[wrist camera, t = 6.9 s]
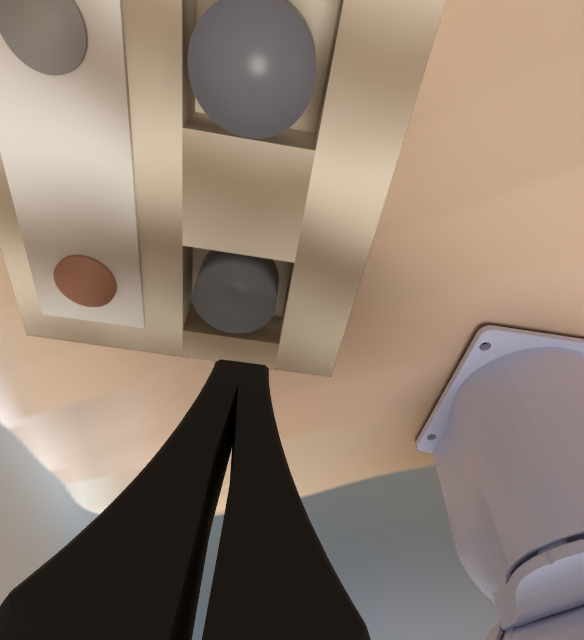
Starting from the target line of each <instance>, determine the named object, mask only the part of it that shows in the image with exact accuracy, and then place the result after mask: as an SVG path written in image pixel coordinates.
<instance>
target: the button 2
mask: <svg viewBox="0 0 584 640" xmlns="http://www.w3.org/2000/svg"><path fill="white" fill-rule="evenodd" d="M278 283H279V274H278V270H277V267H276V265H275V263H274V261H273V260H272V259H267V258H260V257H254V256H247V255H241V254H234V253H228V252H221V251H215V250H212V251H210V252H209V253H208V254H207V256H206V257H205V259H204V261H203V263H202V266H201V268H200V271H199V274H198V276H197V279H196V282H195V285H194V288H193V291H192V301H193V305H194V307H195V309H196V311H197V313H198V314H199V316H200V317H201V318H202V319H203V320H204V321H205V322H206V323H208V324H209V325H211V326H212V327H214V328H216V329H219V330H221V331H224V332H229V333H249V332H253V331H256V330H258V329H260V328H262V327H263V326H265V325H266V324H267V323H268V322H269V321H270V320H271V318H272V317H273V315H274V313H275V309H276V302H277V293H278Z"/></svg>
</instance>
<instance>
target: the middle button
mask: <svg viewBox="0 0 584 640" xmlns="http://www.w3.org/2000/svg"><path fill="white" fill-rule="evenodd" d="M187 63H188V74H189V80H190V83H191V87H192V90H193V92H194V95H195V97H196V99H197V101H198V103H199V105H200V106H201V108H202V109H203V110H204V112H205V113H206V114H207V115H208V117H209V118H210V119H211V120H212V121H213V122H215V123H216V124H217V125H218V126H220V127H221V128H222V129H224V130H226V131H228V132H229V133H231V134H234V135H237V136H240V137H244V138H250V139H262V138H268V137H272V136H275V135H277V134H280V133H282V132H284V131H285V130H287V129H288V128H290V127H291V126H292V125H293V124H294V123H295V122H296V121H297V120H298V119H299V118H300V117H301V116H302V114H303V113H304V111H305V110H306V108H307V106H308V104H309V102H310V100H311V97H312V94H313V91H314V87H315V80H316V52H315V44H314V40H313V36H312V33H311V31H310V28H309V26H308V24H307V22H306V20H305V19H304V17H303V16H302V14H301V13H300V12H299V10H298V9H297V8H296V7H295V6H294V5H293V4H292V3H291V2H289V1H288V0H219V1H217V2H216V3H214V4H213V5H212V6H211V7H210V8H208V9H207V11H206V12H205V13H204V14H203V15H202V16H201V18H200V19H199V21H198V23H197V24H196V26H195V28H194V31H193V33H192V36H191V39H190V43H189V48H188V58H187Z"/></svg>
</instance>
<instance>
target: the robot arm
mask: <svg viewBox="0 0 584 640" xmlns="http://www.w3.org/2000/svg"><path fill="white" fill-rule="evenodd" d="M484 342H487V343H486V344H484V345H481V344H482V343H484ZM416 448H417V450H419V451H421V452H426V453H433V457H434V461H435V465H436V469H437V473H438V477H439V481H440V486H441V490H442V494H443V498H444V502H445V506H446V510H447V515H448V519H449V523H450V526H451V530H452V535H453V539H454V543H455V547H456V550H457V553H458V556H459V558H460V560H461V562H462V564H463V566H464V568H465V570H466V571H467V573H468V574H469V576H470V577H471V579H472V580H473V581H474V583H475V584H476V585H477V586H478V588H479V589H480V590H481V591H482V592H483V593H484V594H485V595H486V596H487V597H488V598H489V599H491V600H492V601H493V602H494V603H495V606H496V609H497V613H498V616H499V620H500V622H499V623H498V624H496V625H495V626H494V627H493V628H492V629H491V631H490V633H489V635H488V637H487V639H486V640H584V339H581V338H574V337H567V336H561V335H554V334H547V333H540V332H534V331H527V330H520V329H513V328H507V327H500V326H493V325H488V326H484V327H482V328H481V329H479V330H478V332H477V333H476V335H475V337H474V339H473V340H472V342H471V344H470V346H469V347H468V349H467V351H466V353H465V355H464V356H463V358H462V360H461V362H460V364H459V365H458V367H457V369H456V371H455V373H454V374H453V376H452V378H451V380H450V381H449V383H448V385H447V387H446V389H445V390H444V392H443V394H442V396H441V398H440V399H439V401H438V403H437V405H436V407H435V408H434V410H433V412H432V414H431V415H430V417H429V419H428V421H427V423H426V424H425V426H424V428H423V430H422V432H421V433H420V435H419V437H418V439H417V441H416ZM231 449H232V458H231V473H230V486H229V492H228V497H227V503H226V509H225V515H224V520H223V526H222V532H221V537H220V543H219V549H218V555H217V560H216V565H215V571H214V577H213V583H212V587H211V593H210V598H209V604H208V609H207V615H206V620H205V626H204V631H203V637H202V640H370V637H369V633H368V630H367V627H366V624H365V623H364V621H363V619H362V617H361V616H360V614H359V612H358V611H357V609H356V607H355V606H354V604H353V603H352V601H351V599H350V597H349V596H348V594H347V592H346V590H345V589H344V587H343V585H342V583H341V582H340V580H339V578H338V576H337V574H336V572H335V570H334V569H333V567H332V565H331V563H330V561H329V559H328V557H327V555H326V553H325V551H324V549H323V547H322V545H321V543H320V541H319V539H318V537H317V535H316V533H315V530H314V528H313V526H312V524H311V522H310V520H309V518H308V515H307V513H306V511H305V508H304V506H303V504H302V502H301V499H300V496H299V494H298V491H297V489H296V486H295V484H294V481H293V478H292V475H291V473H290V470H289V467H288V464H287V461H286V457H285V454H284V451H283V448H282V444H281V441H280V437H279V433H278V429H277V425H276V421H275V417H274V413H273V408H272V402H271V396H270V389H269V368H268V367H267V366H266V365H262V364H254V363H246V362H238V361H231V360H223V359H220V360H218V361H216V363H215V365H214V368H213V370H212V372H211V374H210V376H209V378H208V380H207V382H206V383H205V385H204V387H203V389H202V390H201V392H200V394H199V395H198V397H197V399H196V400H195V402H194V403H193V405H192V406H191V408H190V409H189V411H188V412H187V414H186V415H185V417H184V418H183V420H182V421H181V422H180V424H179V425H178V426H177V428H176V429H175V430H174V432H173V433H172V434H171V436H170V437H169V438H168V440H167V441H166V442H165V444H164V445H163V446H162V447H161V449H160V450H159V451H158V452H157V454H156V455H155V456H154V457H153V458H152V460H151V461H150V462H149V463H148V464H147V466H146V467H145V468H144V469H143V470H142V471H141V472H140V473H139V475H138V476H137V477H136V478H135V479H134V480H133V481H132V482H131V483H130V484H129V485H128V486H127V487H126V489H125V490H124V491H123V492H122V493H121V494H120V495H119V496H118V497H117V498H116V499H115V500H114V501H113V502H112V503H111V504H110V505H109V506H108V507H107V508H106V509H105V510H104V511H103V512H102V513H101V514H100V515H99V516H98V517H97V518H96V519H95V520H93V521H92V522H91V523H90V524H89V525H88V526H87V527H86V528H85V529H84V530H83V531H81V533H79V534H78V535H77V536H76V537H75V538H74V539H73V540H72V541H71V542H69V543H68V544H67V545H66V546H65V547H64V548H63V549H62V550H60V551H59V552H58V553H57V554H56V555H55V556H53V557H52V558H51V559H50V560H49V561H47V562H46V563H45V564H44V565H42V566H41V567H40V568H39V569H37V570H36V571H35V572H34V573H33V574H31V575H30V576H29V577H28V578H27V579H25V580H24V581H23V582H22V583H20V584H19V585H18V586H17V587H16V588H14V589H13V590H12V591H11V592H10V593H9V595H8V596H7V597H6V599H5V600H4V601H3V603H2V604H1V606H0V640H192V634H193V629H194V623H195V617H196V611H197V605H198V599H199V593H200V587H201V581H202V575H203V569H204V563H205V557H206V552H207V546H208V540H209V536H210V531H211V526H212V522H213V518H214V514H215V510H216V507H217V503H218V499H219V495H220V491H221V487H222V484H223V480H224V476H225V472H226V468H227V464H228V461H229V457H230V453H231Z"/></svg>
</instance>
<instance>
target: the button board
mask: <svg viewBox="0 0 584 640" xmlns="http://www.w3.org/2000/svg"><path fill="white" fill-rule="evenodd" d="M217 1H219V0H0V246H1V250H2V253H3V256H4V260H5V263H6V266H7V270H8V273H9V276H10V280H11V283H12V286H13V290H14V293H15V297H16V300H17V303H18V307H19V310H20V313H21V317H22V320H23V323H24V327H25V330H26V333H27V336H35V337H42V338H49V339H57V340H64V341H71V342H79V343H86V344H93V345H101V346H108V347H115V348H123V349H130V350H137V351H145V352H152V353H159V354H167V355H174V356H181V357H188V358H196V359H203V360H210V361H218V360H220V359H223V360H231V361H238V362H246V363H254V364H262V365H266V366H267V367H268V368H269V369H276V370H284V371H291V372H298V373H306V374H313V375H320V376H328V377H331V375H332V372H333V368H334V365H335V362H336V359H337V355H338V352H339V349H340V346H341V342H342V339H343V336H344V332H345V329H346V326H347V323H348V319H349V316H350V313H351V310H352V306H353V303H354V300H355V297H356V293H357V290H358V287H359V284H360V280H361V277H362V274H363V271H364V267H365V264H366V261H367V258H368V254H369V251H370V248H371V245H372V241H373V238H374V235H375V232H376V228H377V225H378V222H379V218H380V215H381V212H382V209H383V205H384V202H385V199H386V196H387V192H388V189H389V186H390V183H391V179H392V176H393V173H394V170H395V166H396V163H397V160H398V157H399V153H400V150H401V147H402V144H403V140H404V137H405V134H406V131H407V127H408V124H409V121H410V118H411V114H412V111H413V108H414V104H415V101H416V98H417V95H418V91H419V88H420V85H421V82H422V78H423V75H424V72H425V69H426V65H427V62H428V59H429V56H430V52H431V49H432V46H433V43H434V39H435V36H436V33H437V30H438V26H439V23H440V20H441V17H442V13H443V10H444V7H445V3H446V0H288V1H289V2H291V3H292V4H293V5H294V6H295V7H296V8H297V9H298V10H299V12H300V13H301V14H302V16H303V17H304V19H305V20H306V22H307V24H308V26H309V28H310V31H311V33H312V36H313V40H314V44H315V52H316V80H315V87H314V91H313V94H312V97H311V100H310V102H309V104H308V106H307V108H306V110H305V111H304V113H303V114H302V116H301V117H300V118H299V119H298V120H297V121H296V122H295V123H294V124H293V125H292V126H291V127H290V128H288V129H287V130H285V131H284V132H282V133H280V134H277V135H275V136H272V137H268V138H262V139H250V138H244V137H240V136H237V135H234V134H231V133H229V132H228V131H226V130H224V129H222V128H221V127H220V126H218V125H217V124H216V123H215V122H213V121H212V120H211V119H210V118H209V117H208V115H207V114H206V113H205V112H204V110H203V109H202V108H201V106H200V105H199V103H198V101H197V99H196V97H195V95H194V92H193V90H192V87H191V83H190V80H189V74H188V63H187V58H188V48H189V43H190V39H191V36H192V33H193V31H194V28H195V26H196V24H197V23H198V21H199V19H200V18H201V16H202V15H203V14H204V13H205V12H206V11H207V9H208V8H210V7H211V6H212V5H213V4H214V3H216V2H217ZM212 250H215V251H221V252H228V253H234V254H241V255H247V256H254V257H260V258H267V259H272V260H273V261H274V263H275V265H276V267H277V270H278V274H279V283H278V293H277V302H276V309H275V313H274V315H273V317H272V318H271V320H270V321H269V322H268V323H267V324H266V325H265V326H263V327H262V328H260V329H258V330H256V331H253V332H249V333H229V332H224V331H221V330H219V329H216V328H214V327H212V326H211V325H209V324H208V323H206V322H205V321H204V320H203V319H202V318H201V317H200V316H199V314H198V313H197V311H196V309H195V307H194V305H193V301H192V291H193V288H194V285H195V282H196V279H197V276H198V274H199V271H200V268H201V266H202V263H203V261H204V259H205V257H206V256H207V254H208V253H209V252H210V251H212Z"/></svg>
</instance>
